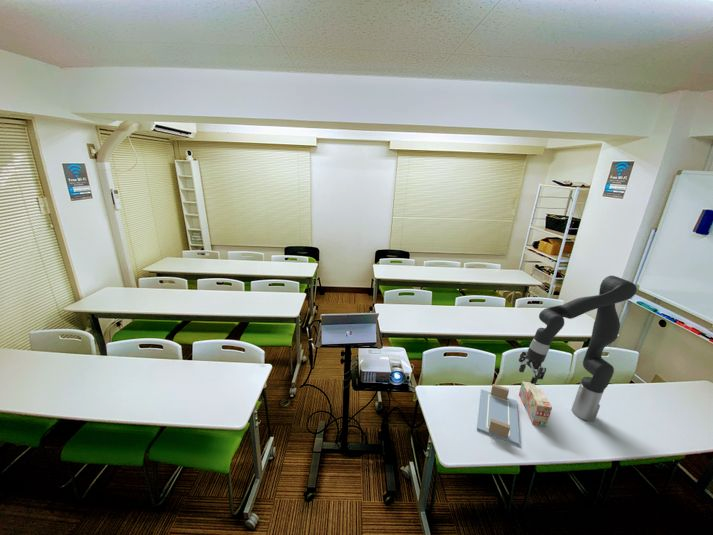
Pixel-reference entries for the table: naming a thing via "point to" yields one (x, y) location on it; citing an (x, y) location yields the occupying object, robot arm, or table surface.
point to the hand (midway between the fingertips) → (526, 377)
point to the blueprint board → (498, 414)
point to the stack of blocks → (535, 404)
